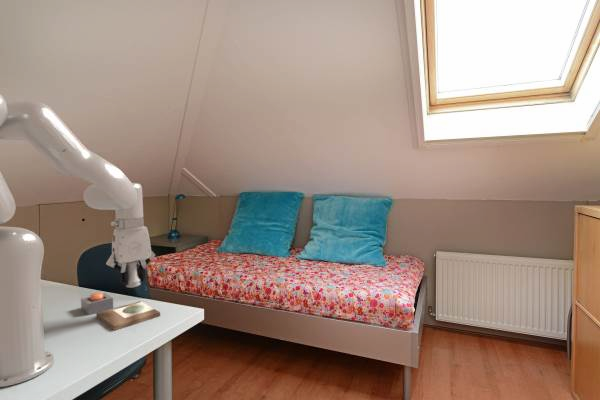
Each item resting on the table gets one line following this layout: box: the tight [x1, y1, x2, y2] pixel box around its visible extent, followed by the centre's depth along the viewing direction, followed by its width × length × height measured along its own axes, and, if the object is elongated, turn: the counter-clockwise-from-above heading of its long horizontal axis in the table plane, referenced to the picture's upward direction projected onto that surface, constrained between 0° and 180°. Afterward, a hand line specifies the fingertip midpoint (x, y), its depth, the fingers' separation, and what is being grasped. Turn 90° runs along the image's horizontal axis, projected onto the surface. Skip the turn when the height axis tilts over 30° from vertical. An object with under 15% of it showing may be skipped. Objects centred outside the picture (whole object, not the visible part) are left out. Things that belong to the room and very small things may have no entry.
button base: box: [80, 292, 114, 316], centre depth 110 cm, size 7×7×3 cm
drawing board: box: [95, 300, 161, 331], centre depth 104 cm, size 13×14×1 cm
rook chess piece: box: [125, 261, 142, 289], centre depth 105 cm, size 4×4×8 cm
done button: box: [89, 292, 104, 302], centre depth 110 cm, size 4×4×2 cm
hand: (132, 281), depth 105 cm, fingers closed on rook chess piece, 4 cm apart
